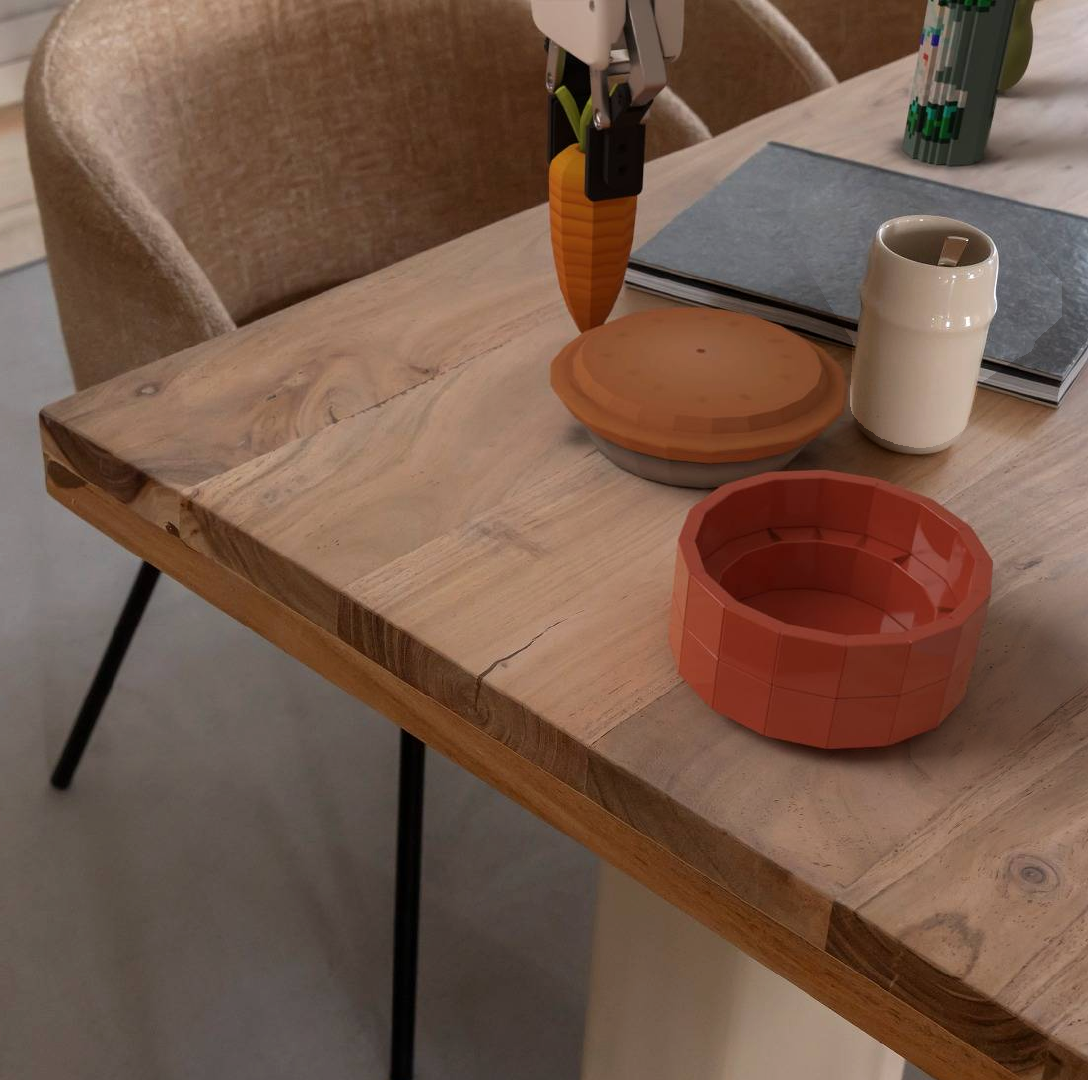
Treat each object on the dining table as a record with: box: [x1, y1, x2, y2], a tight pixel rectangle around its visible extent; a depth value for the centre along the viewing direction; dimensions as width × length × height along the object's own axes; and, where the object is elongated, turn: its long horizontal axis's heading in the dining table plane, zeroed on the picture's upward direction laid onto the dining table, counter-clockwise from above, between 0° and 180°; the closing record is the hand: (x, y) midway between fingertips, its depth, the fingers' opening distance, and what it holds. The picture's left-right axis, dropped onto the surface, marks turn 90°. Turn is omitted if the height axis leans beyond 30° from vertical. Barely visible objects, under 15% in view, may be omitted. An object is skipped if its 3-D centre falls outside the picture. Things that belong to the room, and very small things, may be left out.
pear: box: [999, 0, 1035, 93], centre depth 124 cm, size 6×5×10 cm
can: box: [901, 0, 1018, 167], centre depth 110 cm, size 6×6×15 cm
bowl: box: [667, 469, 994, 750], centre depth 60 cm, size 12×12×6 cm
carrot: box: [548, 81, 639, 334], centre depth 81 cm, size 5×5×15 cm
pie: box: [549, 306, 848, 489], centre depth 76 cm, size 15×16×5 cm
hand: (593, 176), depth 80 cm, fingers closed on carrot, 4 cm apart
